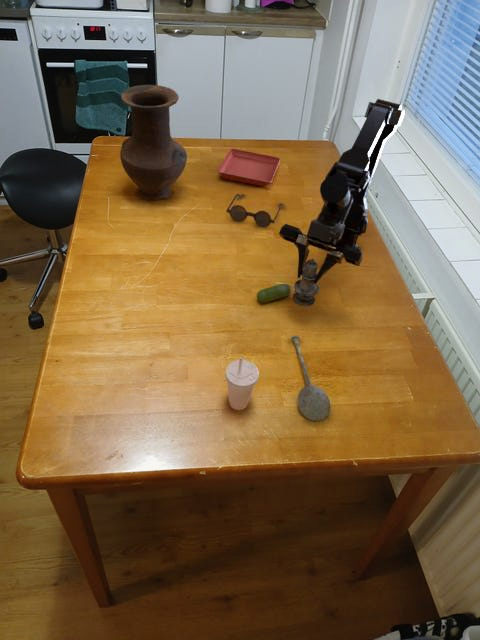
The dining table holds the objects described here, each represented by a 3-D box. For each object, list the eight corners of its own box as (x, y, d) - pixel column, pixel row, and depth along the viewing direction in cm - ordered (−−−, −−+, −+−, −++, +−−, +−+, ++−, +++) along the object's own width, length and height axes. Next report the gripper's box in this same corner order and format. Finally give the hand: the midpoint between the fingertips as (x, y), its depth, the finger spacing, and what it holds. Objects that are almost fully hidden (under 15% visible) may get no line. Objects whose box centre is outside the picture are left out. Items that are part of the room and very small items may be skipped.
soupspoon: (299, 424, 97) (331, 423, 98) (303, 415, 94) (335, 414, 96) (280, 340, 112) (308, 339, 113) (283, 330, 109) (311, 330, 110)
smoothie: (221, 389, 101) (225, 344, 91) (252, 389, 101) (259, 344, 91) (223, 416, 96) (227, 371, 86) (255, 415, 97) (263, 371, 87)
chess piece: (315, 309, 112) (325, 269, 104) (289, 304, 113) (298, 264, 104) (317, 292, 116) (327, 252, 108) (293, 288, 117) (301, 248, 108)
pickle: (285, 289, 125) (287, 279, 122) (292, 297, 123) (294, 287, 120) (253, 298, 121) (255, 288, 119) (260, 306, 119) (261, 296, 117)
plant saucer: (279, 165, 171) (281, 156, 168) (270, 191, 158) (271, 181, 156) (229, 156, 173) (230, 147, 170) (216, 180, 160) (217, 171, 158)
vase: (111, 189, 152) (99, 89, 130) (162, 171, 162) (159, 76, 140) (147, 217, 142) (140, 114, 121) (199, 197, 152) (201, 99, 131)
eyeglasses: (225, 219, 145) (226, 204, 141) (240, 194, 155) (241, 180, 152) (273, 230, 143) (275, 215, 139) (284, 205, 153) (286, 190, 149)
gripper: (288, 191, 103) (260, 260, 104) (373, 219, 98) (343, 291, 99) (296, 206, 114) (271, 268, 114) (373, 232, 108) (346, 297, 109)
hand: (306, 280), depth 109 cm, fingers closed on chess piece, 3 cm apart
